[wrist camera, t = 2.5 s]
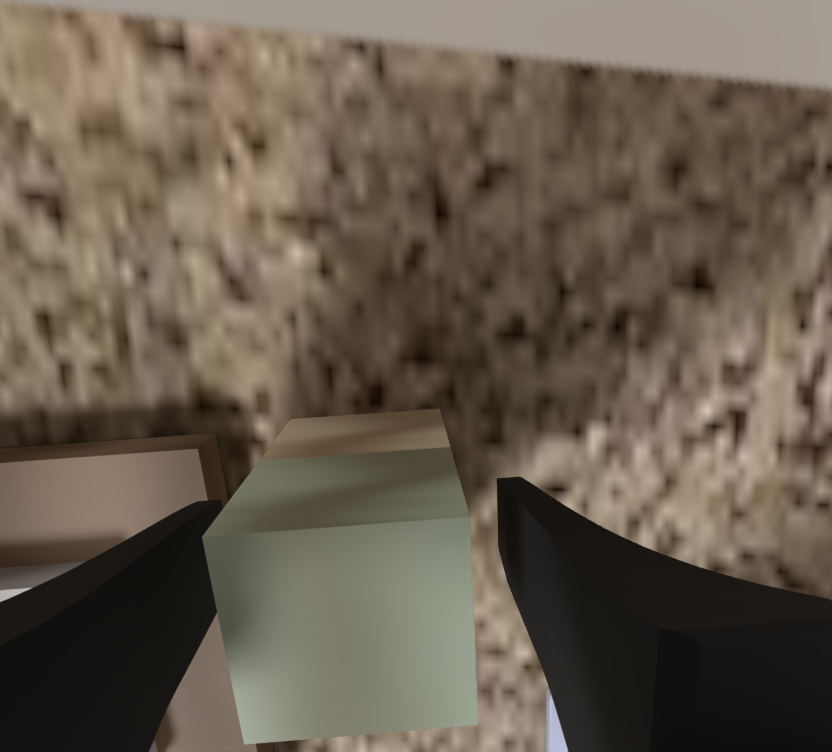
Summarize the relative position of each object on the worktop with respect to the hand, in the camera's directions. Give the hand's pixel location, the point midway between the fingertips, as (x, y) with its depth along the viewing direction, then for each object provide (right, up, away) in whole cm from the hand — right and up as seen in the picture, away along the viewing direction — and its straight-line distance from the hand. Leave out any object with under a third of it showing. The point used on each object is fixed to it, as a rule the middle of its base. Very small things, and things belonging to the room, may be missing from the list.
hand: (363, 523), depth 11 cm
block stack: (0, +1, +2) cm, 2 cm away
